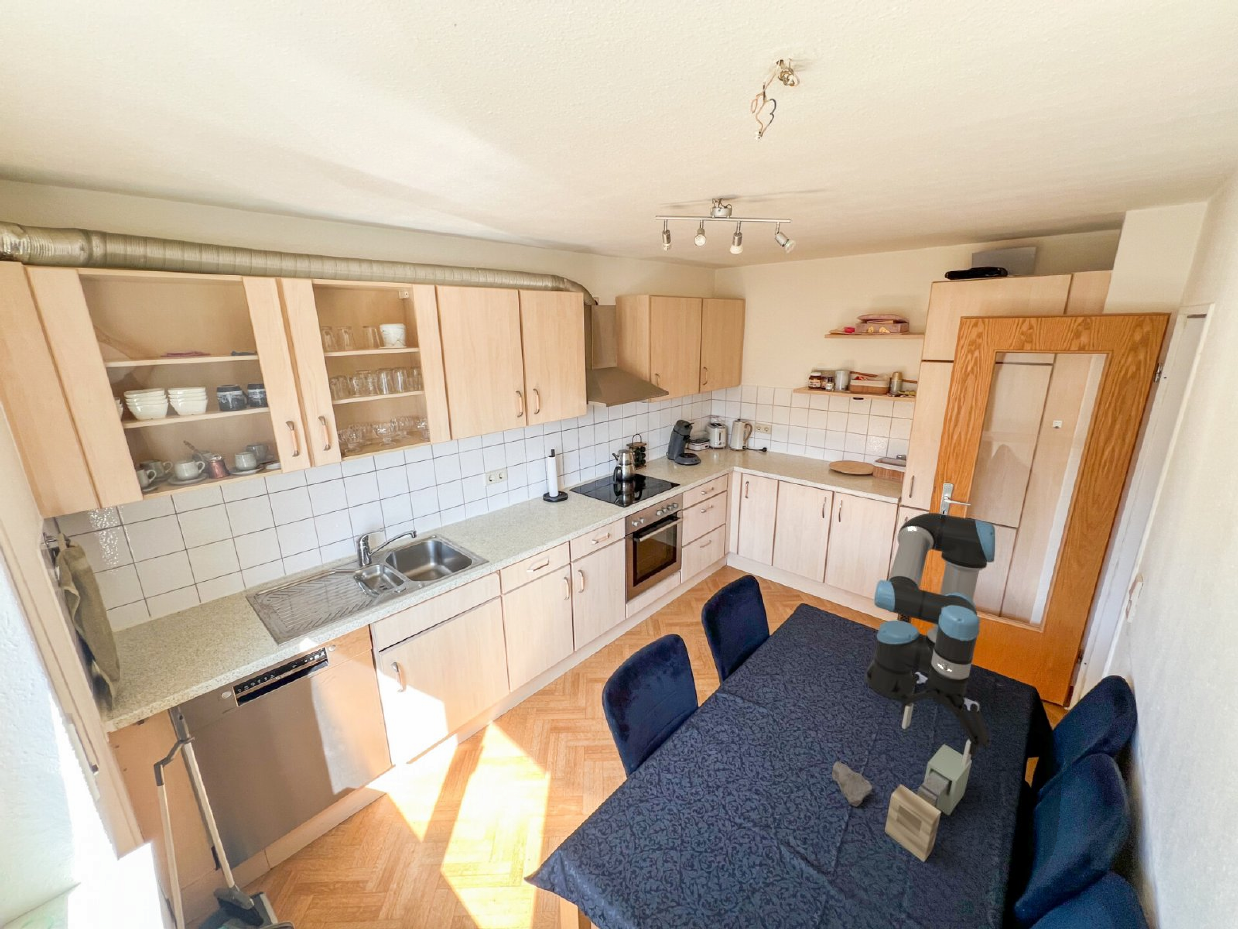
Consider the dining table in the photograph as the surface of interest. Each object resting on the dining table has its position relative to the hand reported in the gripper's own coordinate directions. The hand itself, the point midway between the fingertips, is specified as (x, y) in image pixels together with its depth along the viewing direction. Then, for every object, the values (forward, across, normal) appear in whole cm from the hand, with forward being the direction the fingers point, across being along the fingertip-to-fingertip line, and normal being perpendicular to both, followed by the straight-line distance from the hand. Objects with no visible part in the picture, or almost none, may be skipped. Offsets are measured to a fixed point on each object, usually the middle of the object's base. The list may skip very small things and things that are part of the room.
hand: (934, 743), depth 120 cm
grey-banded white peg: (+15, +2, +5) cm, 16 cm away
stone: (+22, -14, -10) cm, 28 cm away
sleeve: (+21, +1, +9) cm, 23 cm away
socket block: (+21, +2, -11) cm, 24 cm away
